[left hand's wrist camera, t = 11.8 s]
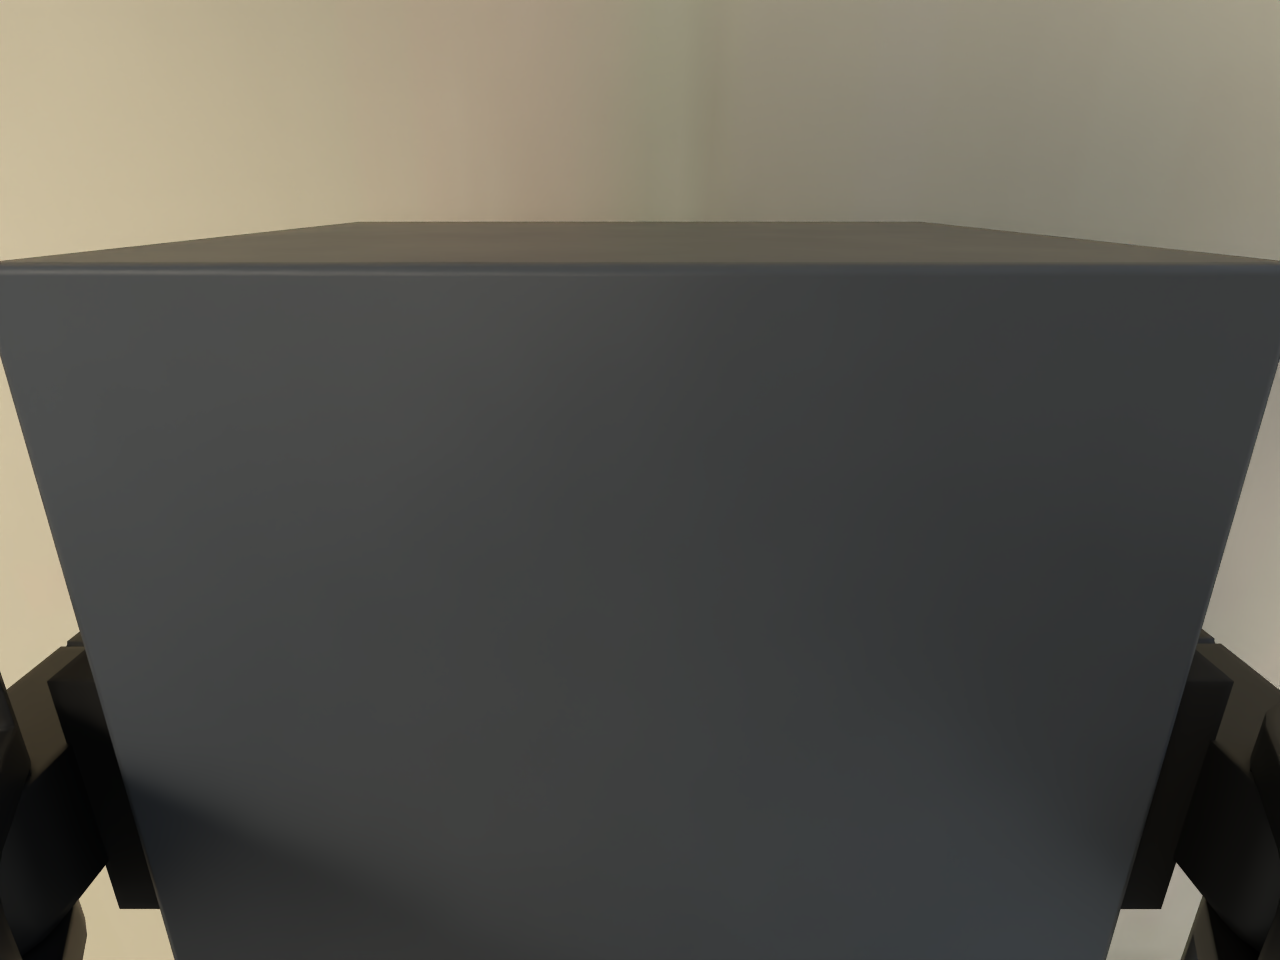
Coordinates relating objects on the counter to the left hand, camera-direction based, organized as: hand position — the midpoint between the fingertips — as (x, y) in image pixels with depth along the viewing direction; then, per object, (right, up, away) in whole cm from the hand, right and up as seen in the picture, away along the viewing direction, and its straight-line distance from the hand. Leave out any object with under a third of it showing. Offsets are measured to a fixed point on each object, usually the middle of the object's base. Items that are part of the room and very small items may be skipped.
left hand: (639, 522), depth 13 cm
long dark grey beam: (0, -20, +8) cm, 22 cm away
